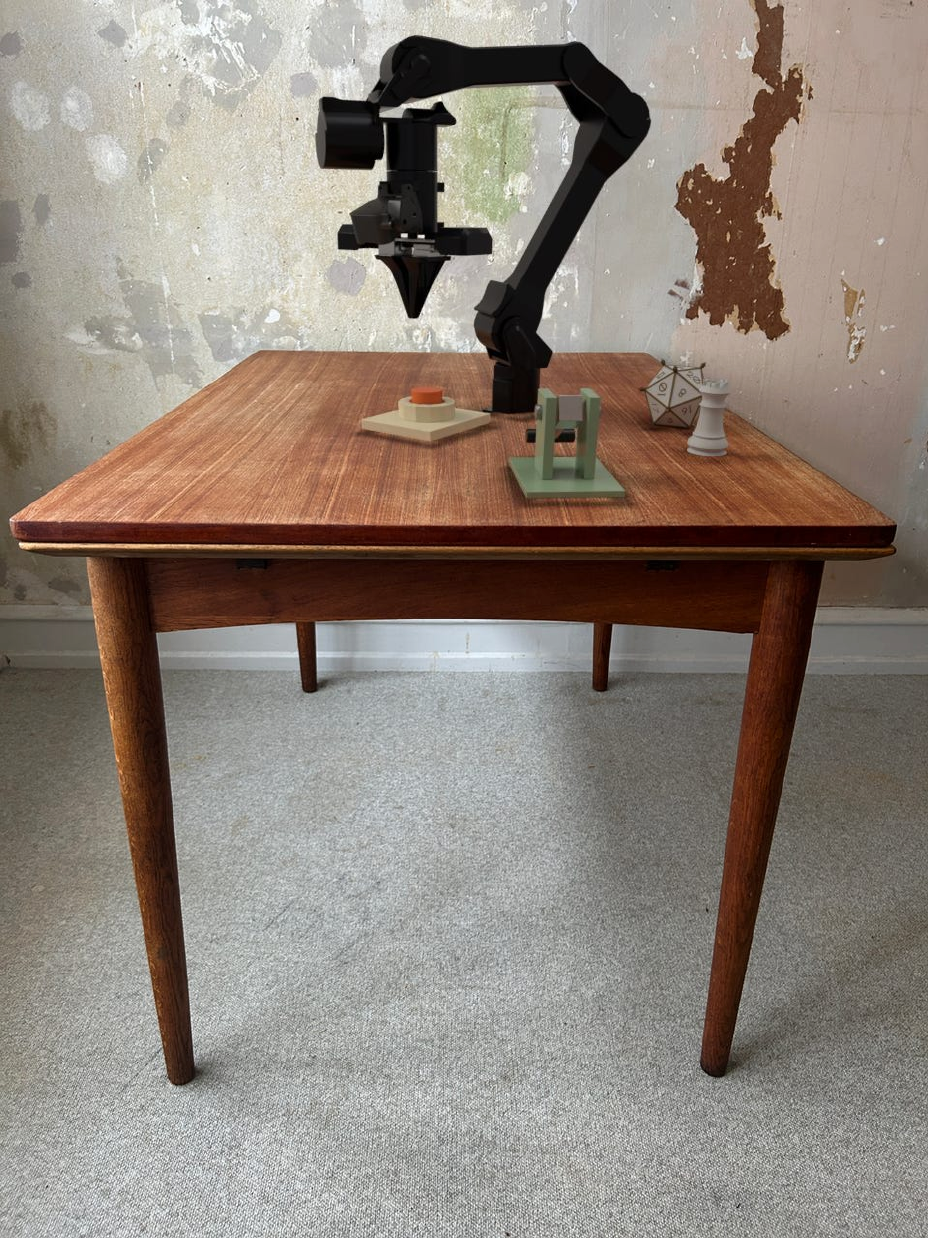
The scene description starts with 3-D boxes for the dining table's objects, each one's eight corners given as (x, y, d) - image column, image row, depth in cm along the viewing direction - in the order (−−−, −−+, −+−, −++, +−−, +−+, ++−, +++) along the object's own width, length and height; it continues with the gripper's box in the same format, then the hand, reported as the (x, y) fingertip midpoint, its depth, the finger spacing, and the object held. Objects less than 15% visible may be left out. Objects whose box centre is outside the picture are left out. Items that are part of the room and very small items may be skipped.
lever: (525, 449, 92) (524, 426, 92) (573, 448, 92) (572, 425, 92) (544, 421, 81) (543, 395, 81) (598, 420, 81) (597, 394, 81)
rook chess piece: (704, 463, 93) (714, 386, 90) (676, 453, 97) (685, 379, 94) (736, 459, 95) (747, 383, 92) (707, 449, 99) (717, 376, 95)
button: (424, 400, 106) (424, 385, 106) (448, 403, 104) (448, 388, 104) (405, 404, 104) (405, 389, 103) (430, 408, 102) (429, 393, 101)
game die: (682, 457, 110) (739, 392, 107) (670, 447, 102) (731, 376, 99) (629, 413, 112) (683, 348, 110) (613, 400, 105) (671, 329, 102)
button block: (424, 416, 112) (424, 388, 111) (490, 427, 107) (490, 398, 106) (361, 433, 103) (360, 403, 102) (430, 446, 98) (430, 415, 97)
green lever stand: (508, 468, 91) (511, 380, 87) (595, 467, 91) (602, 380, 88) (526, 504, 80) (530, 406, 76) (624, 503, 80) (633, 405, 77)
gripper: (300, 169, 98) (308, 317, 105) (435, 167, 88) (435, 331, 95) (366, 173, 106) (370, 310, 113) (497, 172, 97) (493, 322, 103)
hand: (413, 318), depth 106 cm, fingers closed
